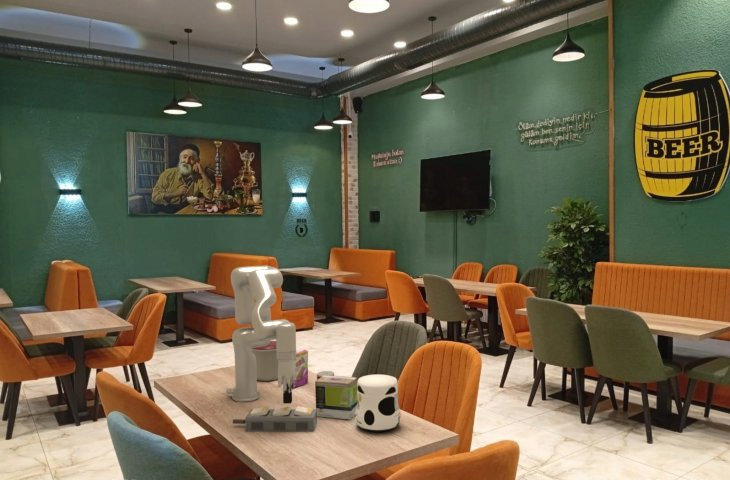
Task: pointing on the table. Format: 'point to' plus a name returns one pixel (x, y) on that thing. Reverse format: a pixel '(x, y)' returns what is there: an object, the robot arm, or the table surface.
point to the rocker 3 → (303, 411)
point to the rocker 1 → (260, 411)
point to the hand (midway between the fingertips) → (287, 402)
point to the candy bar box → (300, 368)
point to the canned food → (324, 374)
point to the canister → (266, 362)
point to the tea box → (336, 396)
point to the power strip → (279, 422)
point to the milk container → (377, 403)
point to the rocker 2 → (282, 411)
